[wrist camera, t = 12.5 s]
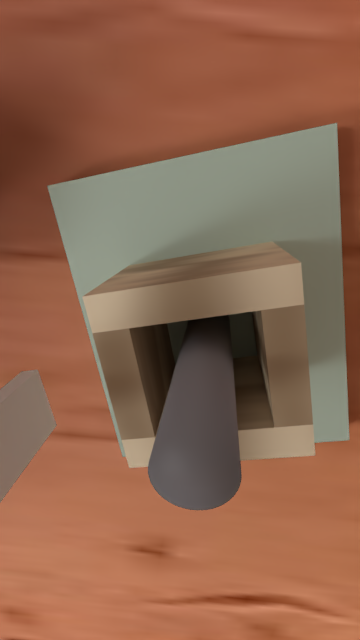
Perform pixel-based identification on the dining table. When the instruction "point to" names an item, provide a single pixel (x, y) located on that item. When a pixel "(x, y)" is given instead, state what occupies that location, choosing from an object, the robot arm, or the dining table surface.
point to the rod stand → (228, 330)
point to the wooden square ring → (202, 302)
